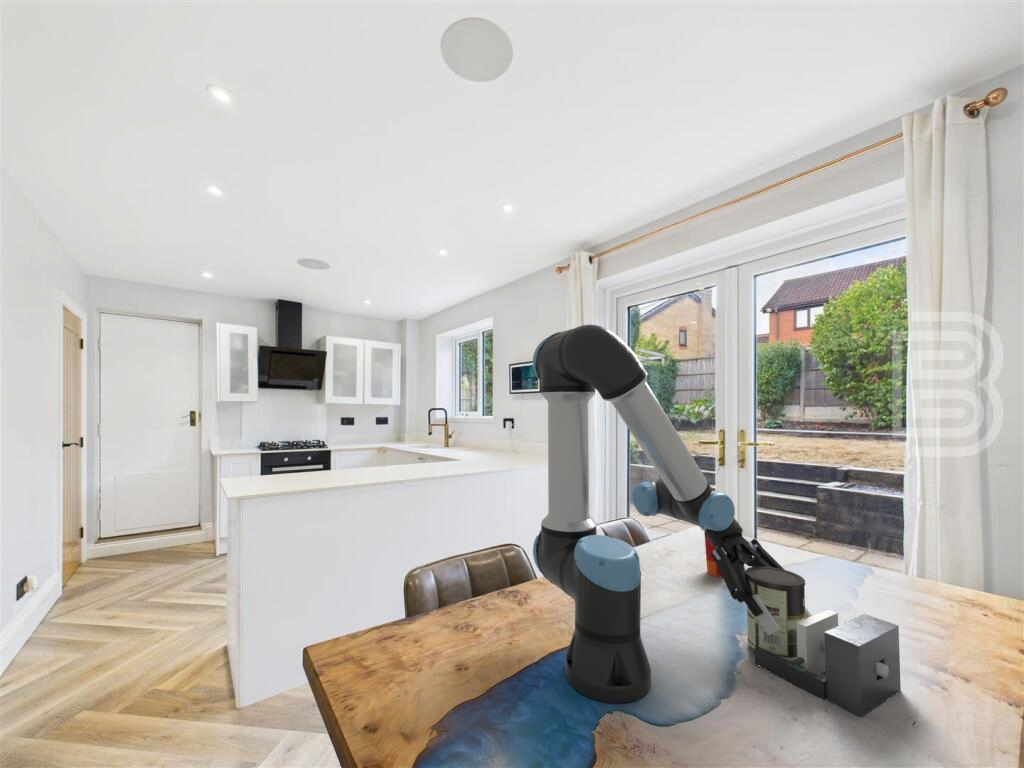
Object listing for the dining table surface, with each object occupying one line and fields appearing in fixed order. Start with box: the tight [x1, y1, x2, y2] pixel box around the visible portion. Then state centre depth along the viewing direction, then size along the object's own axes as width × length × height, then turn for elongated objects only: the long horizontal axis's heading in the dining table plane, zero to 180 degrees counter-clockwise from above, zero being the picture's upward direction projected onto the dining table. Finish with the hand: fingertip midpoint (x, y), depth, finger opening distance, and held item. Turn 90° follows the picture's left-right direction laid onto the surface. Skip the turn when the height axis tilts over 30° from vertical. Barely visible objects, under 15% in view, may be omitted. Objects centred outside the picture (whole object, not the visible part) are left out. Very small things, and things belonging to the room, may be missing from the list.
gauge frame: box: [753, 613, 902, 719], centre depth 81 cm, size 17×15×11 cm
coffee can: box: [745, 566, 806, 662], centre depth 89 cm, size 10×10×14 cm
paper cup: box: [704, 535, 723, 578], centre depth 130 cm, size 8×8×14 cm
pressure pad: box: [790, 609, 889, 678], centre depth 77 cm, size 11×14×9 cm
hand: (790, 625), depth 86 cm, fingers closed on coffee can, 10 cm apart
